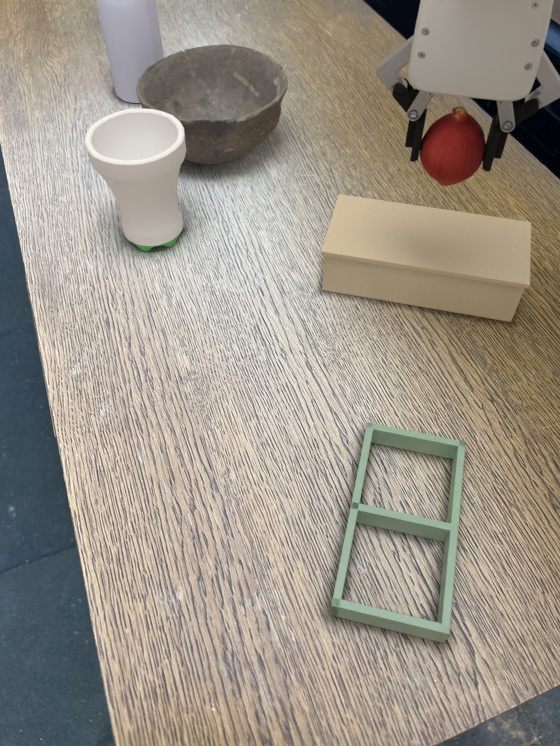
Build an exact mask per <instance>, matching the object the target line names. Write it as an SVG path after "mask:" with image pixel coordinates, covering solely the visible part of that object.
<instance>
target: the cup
mask: <svg viewBox="0 0 560 746" xmlns="http://www.w3.org/2000/svg"><path fill="white" fill-rule="evenodd" d="M84 147H85V150H86V153H87V156H88V159H89V160H88V161H89V162H90V164H91V166H92V168H93V169H94V171H96V173H97V174H98V175H99V176H100V177H102V178H103V180H104V182H105V183H106V184H107V186H108V188H109V190H110V191H111V192H112V195H113V196H114V198H115V201H116V203H117V207H118V209H119V212H120V225H121V229H122V232H123V235H124V238H125V239H126V240H127V241H129V242H130V243H132V244H134V245H135V246H136V247H138V249H140V250H141V251H142V252H148V251H149V252H150V251H151V250H152V249H153V248H155V247H159V246H164V247H168V248H170V247H173V246H175V243H176V241H177V239H178V238H179V236H180V234H181V232H182V231H183V229H184V220H183V214H182V213H183V212H182V210H181V208H180V205H179V201H178V184H179V183H178V182H179V177H180V170H181V167H182V164H183V162H184V161H185V159H184V158H185V154H186V143H185V134H184V127H183V126H182V124H181V122H180V121H179V120H178V119H177V118H175V117H174V116H173V115H171V114H168V113H166V112H163V111H159V110H154V109H143V108H140V107H138V108H127V109H126V108H125V109H123V110H118V111H115V112H113V113H110V114H107V115H104V117H102V118H100V119H98V120H97V121H96V122H94V123H93V124H92V125H91V126H90V127H89V128H88V129H87V131H86V133H85V135H84Z"/></svg>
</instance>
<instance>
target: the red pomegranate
mask: <svg viewBox="0 0 560 746" xmlns="http://www.w3.org/2000/svg"><path fill="white" fill-rule="evenodd" d="M451 111H452V112H449V113H447V114H444V115H442V116H440V117H439V118H438V119H436V120H435V121H434V122H432V123H431V125H430V126H429V127H428V128H427V130H426V131H425V133H424V134H423V136H422V141H421V146H420V151H419V159H420V163H421V166H422V168H423V170H424V171H425V172H426V173H427V175H428V176H429V177H430V178H431V179H433V180H434V181H436V182H437V183H438V184H439V185H440V186H441V187H448V186H453V185H457V184H460V183H462V182H464V181H466V180H469V179H470V178H471V177H472V176H473V175H475V174H476V172H477V171H478V170H479V169H480V167H481V165H482V164H483V159H484V157H485V151H486V137H485V132H484V130H483V127H482V126H481V124H480V123H479V122H478V120H476V119H475V118H474V116H472V115H471V114H470V113H469V112H468V111H467V109H466V108H465V107H464V106H461V105H458V106H455V107H453V108H452V109H451Z"/></svg>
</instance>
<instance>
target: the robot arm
mask: <svg viewBox="0 0 560 746" xmlns="http://www.w3.org/2000/svg"><path fill="white" fill-rule="evenodd" d="M554 1H555V0H420V1H419V6H418V10H417V11H418V12H417V17H416V20H415V27H414V31H413V32H414V33H413V35H411V36H410V37H409V38H408V39H406V41H404V42H403V43H402V44H400V45H399V46H398V47H397V48H396V49H394V50H393V51H392V52H390V54H388V55H387V56H386V57H385V58H384V59H382V60H381V61H380V62H379V63H378V66H377V68H376V69H377V70H376V76H377V78H378V79H379V81H380V82H381V83H382V84H383V85H384V86H385V87H386V89H387V90H388V91H389V92H391V95H392V98H394V100H395V101H396V102H397V103H398V105H399V106H400V107H401V108H402V109H403V111H404V112H405V113H406V115H405V116H406V119H407V120H408V123H407V124H408V125H407V129H406V136H405V142H404V148H409V149H411V153H410V159H409V162H413V163H416V161H417V162H418V161H419V158H420V146H421V141H422V138H423V136H424V129H425V124H426V119H427V113H428V108H427V107H428V105H429V104H430V102H431V101H432V99H433V97H434V96H435V94H436V95H446V96H453V97H462V98H470V99H480V100H488V101H495V102H496V107H497V112H496V113H495V115H494V116H492V119H491V123H490V126H489V130H488V134H487V136H486V137H487V138H486V140H485V144H486V151H485V157H484V159H483V161H482V164H481V165H482V166H481V169H482V170H483V171H484V172H491V169H492V166H493V164H494V160H495V159H497V160H501V159H502V156H503V153H504V149H505V146H506V143H507V140H508V136H509V133H510V132H513V131H514V129H515V128H516V126H517V125H519V124H521V123H522V122H523V121H526V120H527V119H529V118H530V117H532V116H534V115H536V114H537V112H538V111H539V110H540V109H542V108H544V107H546V106H548V105H550V104H551V103H553V102H555V101H556V100H558V99H560V74H559V73H558V71H557V69H556V68H555V66H554V65H553V63H552V62H551V60H550V58H549V56H548V55H547V53H546V52H545V50H544V48H545V43H546V40H547V35H548V31H549V26H550V22H551V19H552V18H551V17H552V12H553V6H554ZM406 65H408V72H407V73H408V74H407V78H408V79H407V78H406V77H404V76H403V75H402V73H401V72H400V70H402V69H403V68H404V67H406ZM536 79H537V81H538V82H539V84H540V86H539V87H537V88H536V89H535V90H533V91H532V89H533V86H534V83H535V80H536Z"/></svg>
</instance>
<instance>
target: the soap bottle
mask: <svg viewBox="0 0 560 746" xmlns="http://www.w3.org/2000/svg"><path fill="white" fill-rule="evenodd" d="M94 1H95V5H96V10H97V15H98V18H99V24H100V28H101V33H102V39H103V42H104V46H105V50H106V51H105V52H106V56H107V61H108V64H109V70H110V75H111V79H112V84H113V88H114V92H115V94H116V97H118V98H119V99H120V100H122V101H124V102H126V103H131V104H141V103H140V101H139V99H138V97H137V92H136V87H137V83H138V80H139V78H140V77H141V76H142V74H143V72H144V71H145V70H146V68H147V67H149V66H150V65H152V64H154V63H156V62H157V61H159V60H161V59H163V58H165V54H164V47H163V41H162V34H161V27H160V21H159V14H158V8H157V0H94Z"/></svg>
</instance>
